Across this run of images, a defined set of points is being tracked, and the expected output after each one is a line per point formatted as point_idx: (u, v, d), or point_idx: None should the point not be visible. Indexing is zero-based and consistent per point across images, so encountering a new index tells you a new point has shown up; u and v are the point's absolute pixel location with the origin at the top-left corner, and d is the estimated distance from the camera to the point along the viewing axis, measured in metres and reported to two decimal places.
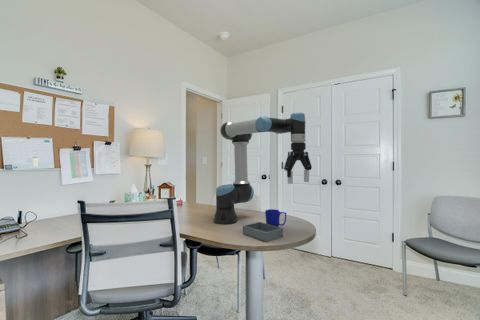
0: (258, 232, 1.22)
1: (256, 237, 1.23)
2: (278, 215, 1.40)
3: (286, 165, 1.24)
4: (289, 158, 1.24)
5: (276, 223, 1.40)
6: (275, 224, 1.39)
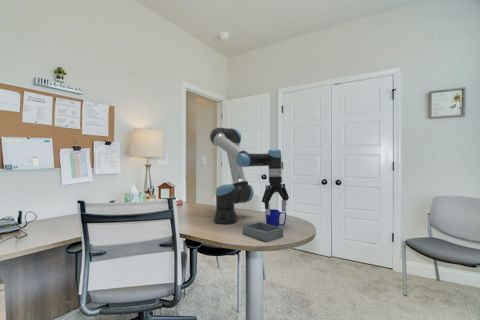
0: (258, 232, 1.22)
1: (256, 237, 1.23)
2: (278, 215, 1.40)
3: (264, 198, 1.36)
4: (266, 191, 1.37)
5: (276, 223, 1.40)
6: (275, 224, 1.39)
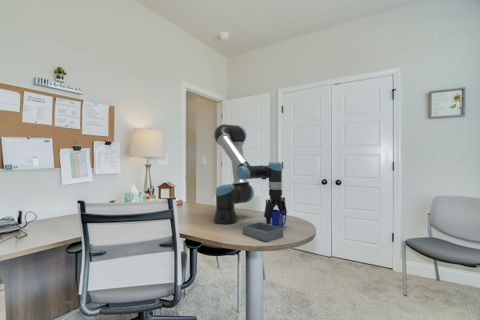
0: (258, 232, 1.22)
1: (256, 237, 1.23)
2: (278, 215, 1.40)
3: (265, 213, 1.37)
4: (267, 206, 1.37)
5: (276, 223, 1.40)
6: (275, 224, 1.39)
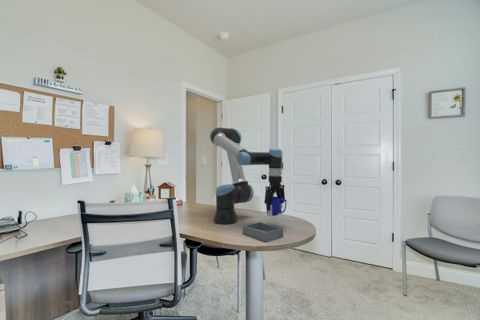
0: (258, 232, 1.22)
1: (256, 237, 1.23)
2: (278, 202, 1.41)
3: (266, 200, 1.38)
4: (267, 193, 1.38)
5: (276, 210, 1.40)
6: (275, 211, 1.40)
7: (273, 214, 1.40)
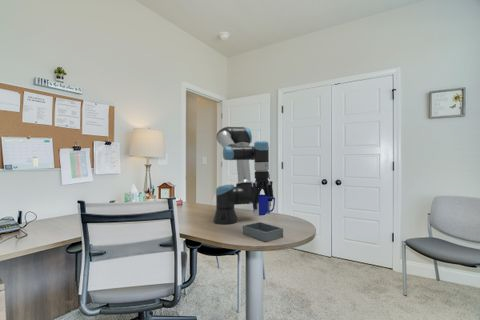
0: (258, 232, 1.22)
1: (256, 237, 1.23)
2: (266, 200, 1.27)
3: (251, 198, 1.24)
4: (253, 190, 1.24)
5: (263, 209, 1.26)
6: (262, 210, 1.26)
7: (260, 213, 1.26)
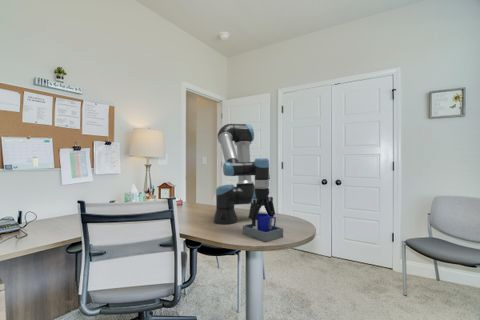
0: (258, 232, 1.22)
1: (256, 237, 1.23)
2: (266, 220, 1.27)
3: (250, 214, 1.24)
4: (252, 207, 1.24)
5: (264, 229, 1.26)
6: (263, 230, 1.26)
7: None
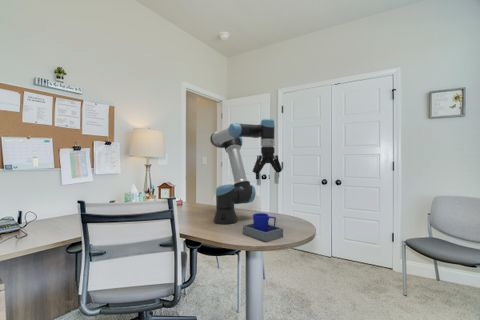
0: (258, 232, 1.22)
1: (256, 237, 1.23)
2: (266, 220, 1.27)
3: (254, 168, 1.33)
4: (257, 161, 1.34)
5: (264, 229, 1.26)
6: (263, 230, 1.26)
7: None
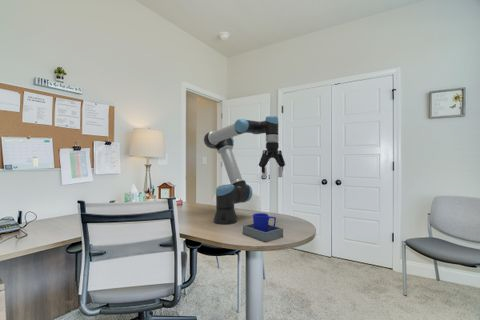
0: (258, 232, 1.22)
1: (256, 237, 1.23)
2: (266, 220, 1.27)
3: (260, 162, 1.41)
4: (263, 156, 1.41)
5: (264, 229, 1.26)
6: (263, 230, 1.26)
7: None
